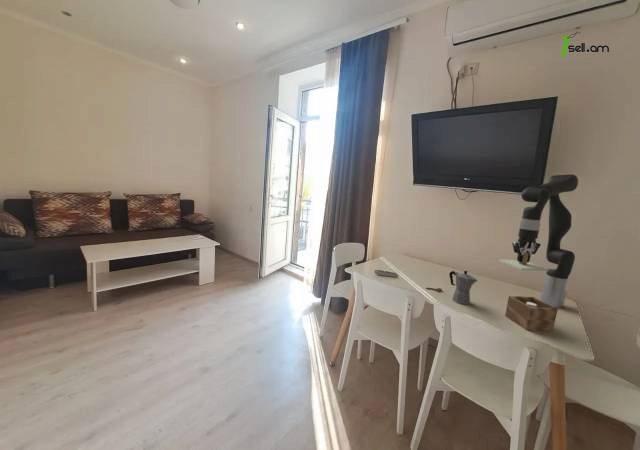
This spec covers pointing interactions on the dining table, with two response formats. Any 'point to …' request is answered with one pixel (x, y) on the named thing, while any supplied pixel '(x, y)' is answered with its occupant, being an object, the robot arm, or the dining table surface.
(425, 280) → the dining table surface
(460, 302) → the coffeepot
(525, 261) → the lid
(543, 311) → the box
